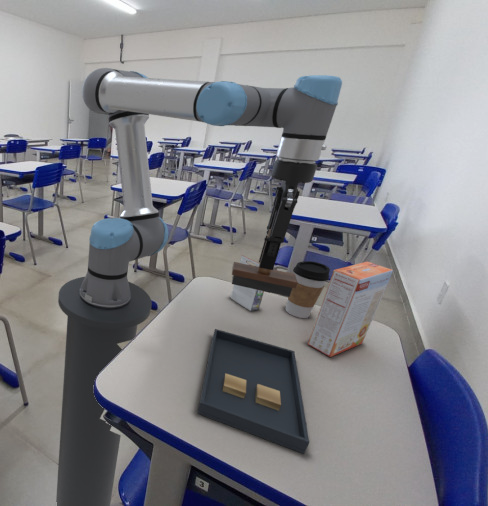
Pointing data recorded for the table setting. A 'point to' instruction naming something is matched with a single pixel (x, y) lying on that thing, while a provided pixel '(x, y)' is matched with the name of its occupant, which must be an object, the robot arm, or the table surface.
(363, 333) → the cracker box
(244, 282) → the brush
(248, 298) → the ink box
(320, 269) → the coffee cup
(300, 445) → the tray
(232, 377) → the tan square block
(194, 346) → the table surface
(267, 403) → the chip
